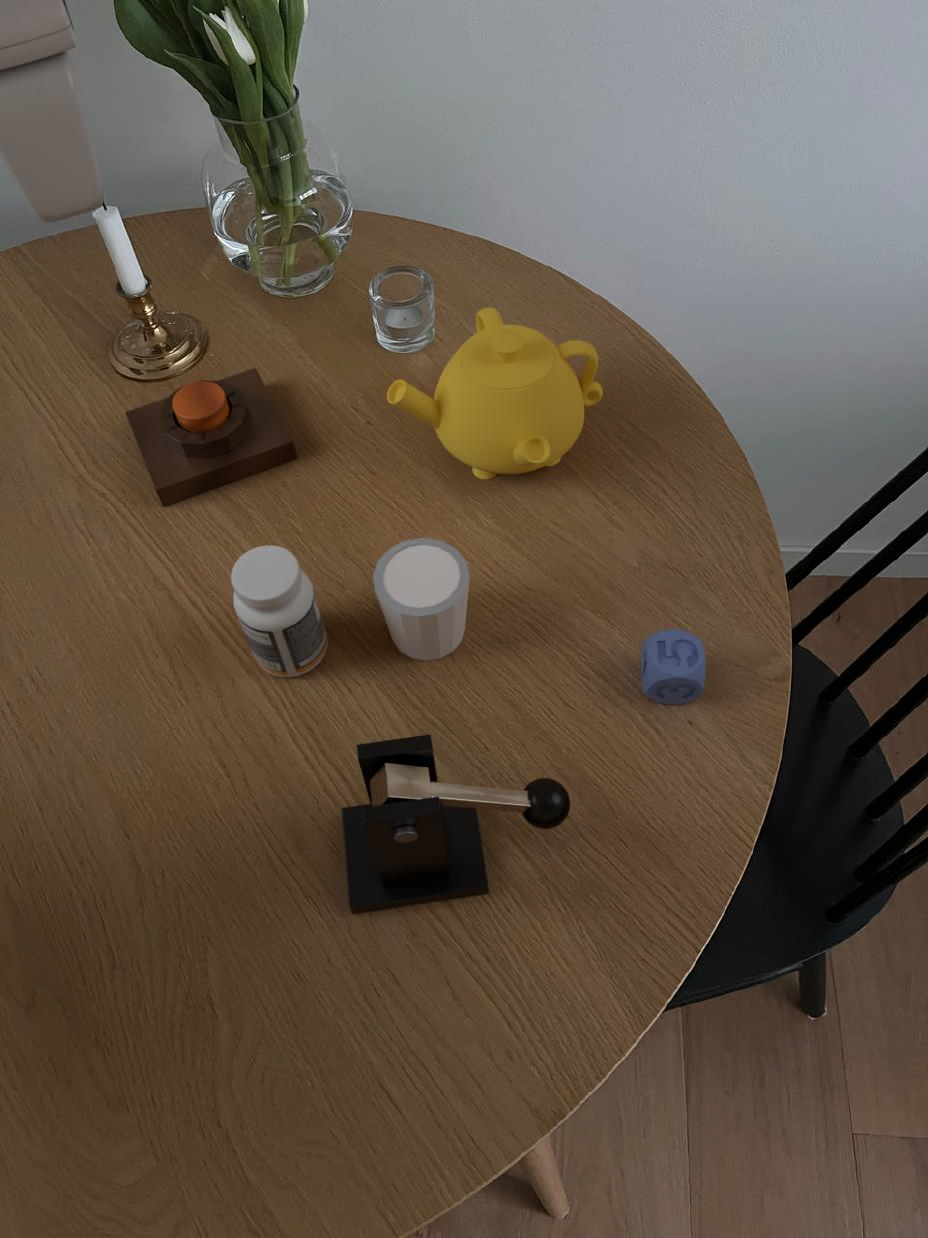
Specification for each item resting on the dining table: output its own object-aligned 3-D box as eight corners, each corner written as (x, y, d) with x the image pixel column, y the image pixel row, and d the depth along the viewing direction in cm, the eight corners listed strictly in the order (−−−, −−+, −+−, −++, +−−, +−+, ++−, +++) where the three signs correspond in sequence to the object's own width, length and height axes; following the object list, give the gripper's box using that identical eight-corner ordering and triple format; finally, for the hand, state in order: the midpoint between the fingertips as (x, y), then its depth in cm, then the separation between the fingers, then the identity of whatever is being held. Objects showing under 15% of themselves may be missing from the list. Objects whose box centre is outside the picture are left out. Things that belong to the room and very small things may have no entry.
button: (186, 440, 88) (180, 425, 86) (171, 406, 90) (165, 391, 89) (236, 422, 89) (231, 407, 87) (220, 389, 91) (215, 374, 90)
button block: (163, 507, 89) (149, 475, 85) (132, 429, 94) (118, 396, 90) (297, 458, 91) (289, 425, 88) (260, 385, 96) (251, 351, 93)
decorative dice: (640, 657, 78) (645, 627, 75) (694, 658, 78) (702, 628, 75) (643, 704, 76) (649, 676, 73) (699, 705, 76) (707, 677, 73)
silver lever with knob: (548, 793, 70) (574, 771, 67) (558, 839, 68) (584, 818, 66) (366, 776, 64) (387, 751, 62) (370, 825, 62) (392, 802, 60)
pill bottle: (318, 608, 82) (296, 528, 74) (337, 668, 79) (316, 591, 71) (246, 629, 81) (216, 551, 73) (262, 690, 78) (232, 615, 70)
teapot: (391, 465, 90) (377, 366, 81) (474, 367, 96) (469, 264, 87) (539, 531, 85) (542, 435, 76) (616, 423, 92) (627, 322, 82)
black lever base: (473, 796, 73) (467, 713, 63) (489, 894, 69) (484, 822, 59) (343, 814, 73) (316, 734, 63) (351, 914, 69) (323, 845, 59)
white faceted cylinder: (386, 592, 83) (376, 536, 77) (474, 592, 82) (470, 536, 77) (379, 667, 79) (368, 615, 73) (471, 668, 79) (468, 615, 73)
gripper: (-125, -113, 58) (-17, 126, 69) (-64, 65, 47) (50, 313, 58) (-9, -140, 59) (77, 100, 70) (75, 28, 48) (161, 278, 60)
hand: (66, 198), depth 64 cm, fingers closed
